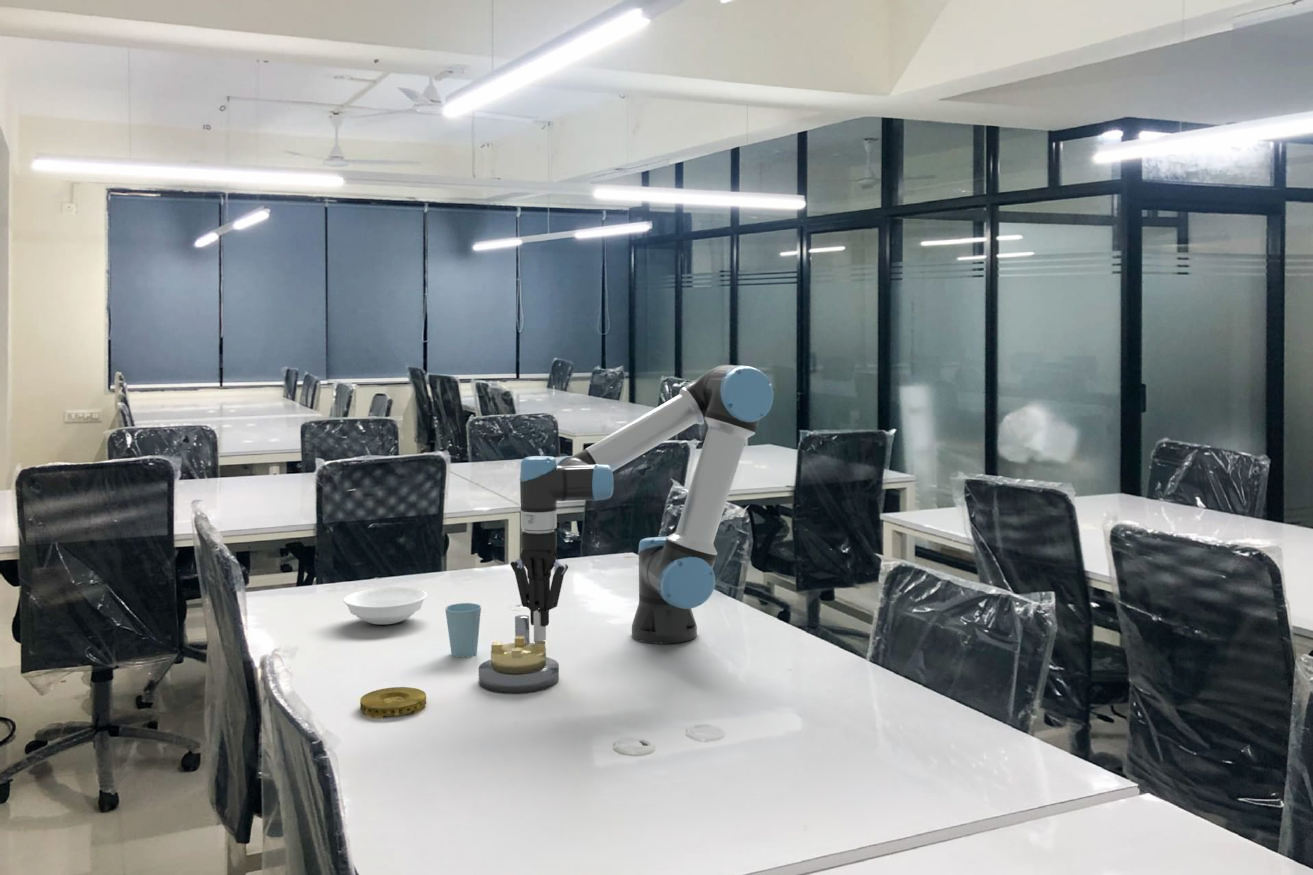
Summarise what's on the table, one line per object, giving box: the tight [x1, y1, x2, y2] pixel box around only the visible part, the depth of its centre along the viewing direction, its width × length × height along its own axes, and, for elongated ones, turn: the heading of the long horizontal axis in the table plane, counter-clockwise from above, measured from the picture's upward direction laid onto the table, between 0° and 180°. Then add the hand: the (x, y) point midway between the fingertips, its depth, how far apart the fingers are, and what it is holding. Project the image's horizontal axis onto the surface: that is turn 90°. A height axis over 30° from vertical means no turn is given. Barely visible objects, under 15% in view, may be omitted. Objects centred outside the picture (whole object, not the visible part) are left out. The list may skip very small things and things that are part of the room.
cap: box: [478, 656, 560, 695], centre depth 217 cm, size 16×16×3 cm
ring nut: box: [490, 614, 547, 673], centre depth 221 cm, size 19×11×9 cm, turn 3°
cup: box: [445, 602, 482, 658], centre depth 236 cm, size 8×8×10 cm
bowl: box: [342, 587, 428, 625], centre depth 262 cm, size 20×20×6 cm
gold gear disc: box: [359, 686, 427, 719], centre depth 202 cm, size 12×12×2 cm
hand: (539, 640), depth 228 cm, fingers closed
